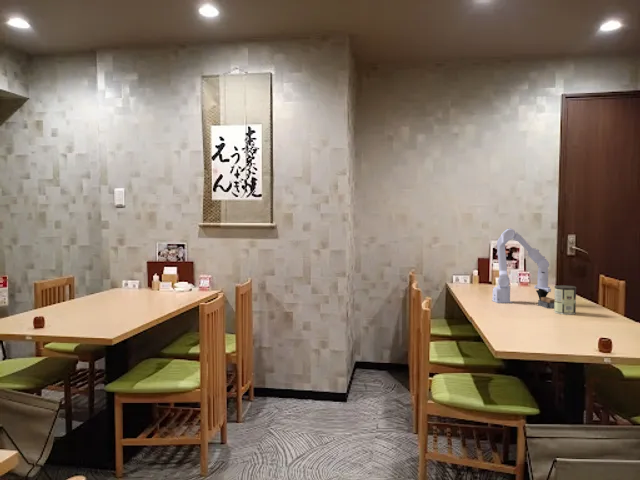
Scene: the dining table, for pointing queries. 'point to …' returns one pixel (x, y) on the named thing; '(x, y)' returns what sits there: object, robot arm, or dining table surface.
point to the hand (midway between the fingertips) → (542, 302)
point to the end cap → (545, 304)
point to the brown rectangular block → (547, 299)
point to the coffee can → (565, 299)
